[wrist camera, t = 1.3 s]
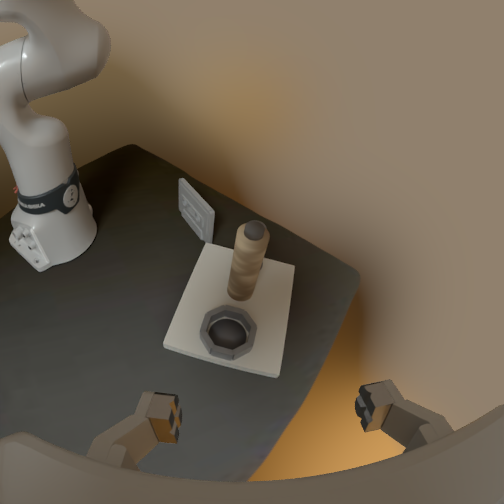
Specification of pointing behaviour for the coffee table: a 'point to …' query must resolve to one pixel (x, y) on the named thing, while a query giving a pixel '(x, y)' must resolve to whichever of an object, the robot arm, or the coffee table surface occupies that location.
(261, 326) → the plate
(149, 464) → the coffee table surface
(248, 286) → the wooden leg
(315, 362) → the coffee table surface
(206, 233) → the cassette
